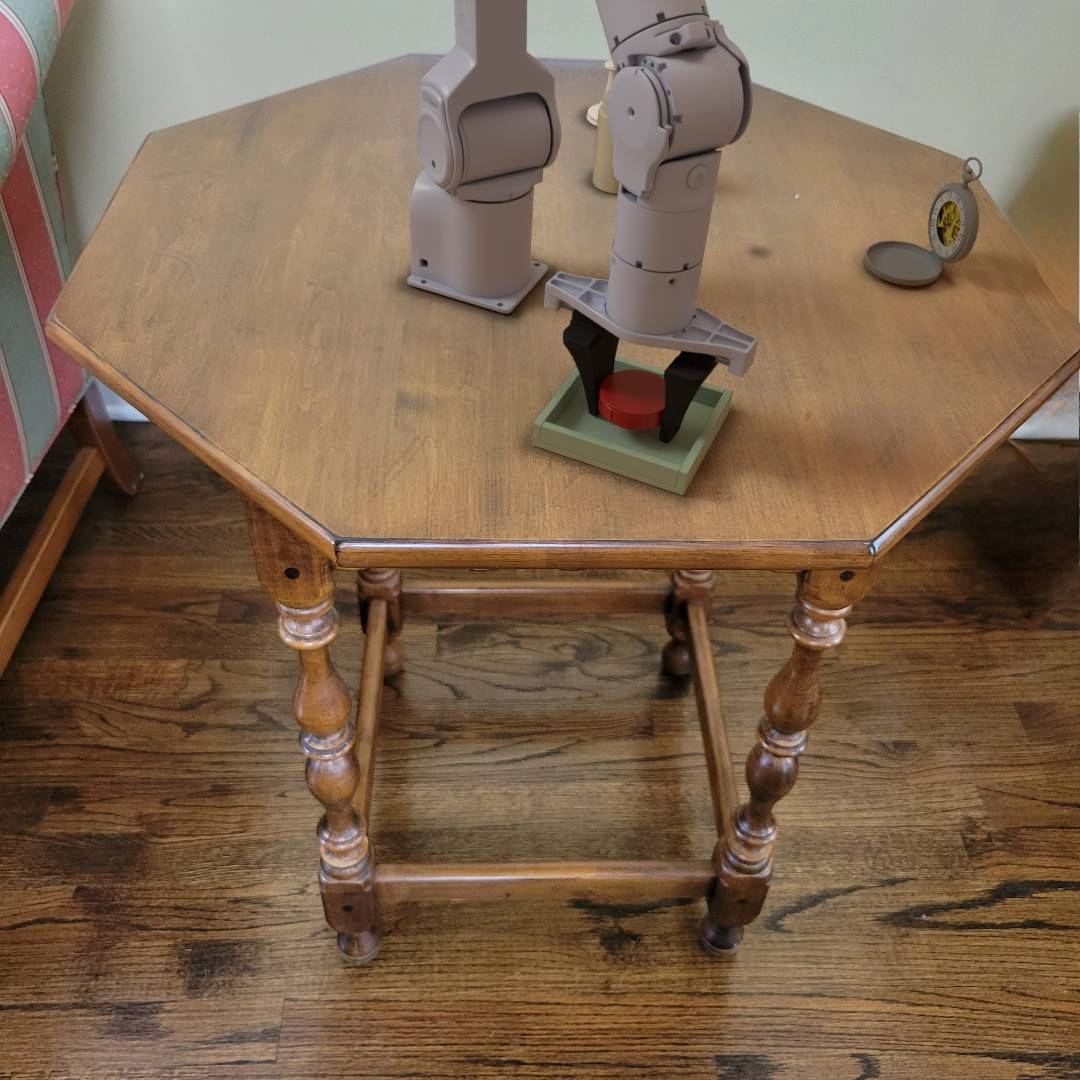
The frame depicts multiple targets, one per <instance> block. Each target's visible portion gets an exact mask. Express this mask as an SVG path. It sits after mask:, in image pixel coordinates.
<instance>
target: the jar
mask: <svg viewBox="0 0 1080 1080" xmlns="http://www.w3.org/2000/svg"><path fill="white" fill-rule="evenodd" d="M602 100H603V102H602V105H601V106H600V107H599V110H598V120H597V126H596V134H595V142H594V143H595V144H594V154H593V158H594V159H593V166H592V176H591V177H592V178H591V182H592V184H593V186H594V187H595V188H596V189H598V190H600V191H602V192H605V193H609V194H613V195H618V189H619V181H618V180H616V179H615V177H614V168H613V167H612V159H613V141H612V136H611V133H610V129H609V125H608V120H607V114H606V94H605V93H604V95H603V99H602Z"/></svg>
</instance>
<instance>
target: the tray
mask: <svg viewBox="0 0 1080 1080" xmlns="http://www.w3.org/2000/svg"><path fill="white" fill-rule="evenodd" d="M622 370H643V371H648V372H651V373H654V374H656V375H658V376H660V377H662V378H663V379H664V371H665V370H666V369H662V368H660V367H656V366H653V365H650V364H647V363H643V362H639V361H637V360H633V359H630V358H627V357H623V356H620V355H616V357H615V364H614V373H615V372H618V371H622ZM733 395H734V390H731V389H728V388H725V387H722V386H718V385H715V384H712V383H709V382H705V381H704V382H703V384H702V385H701V386H700V388H699V390H698V391H697V393H696V394H695V396H694V398H693V400H692V401H691V403H690V405H689V407H688V409H687V411H686V414H685V416H684V418H683V421H682V424H681V427H680V430H679V431H678V432H677V434H676V435H675V436H674V437H673V439H672V440H671V441H670V443H665V442H662V441H659V433H660V427H661V426H659V427H656V428H654V429H649V430H630V429H625V428H622V427H619V426H616V425H614V424H612V423H611V422H609V421H608V420H607V419H606V418H605V417H604V416H603V415H602V414H601V412H600V413H599V414H598V415H597V416H594V415H592V414H589V411H588V405H587V400H586V395H585V391H584V386H583V383H582V379H581V376H580V373H579V371H578V368H577V366H575V368H574V369H573V370H572V372H571V373H570V374H569V376H568V377H567V379H566V380H565V381H564V382H563V384H562V385H561V386H560V388H559V389H558V390H557V391H556V393H555V394H554V395H553V397H552V398H551V399H550V400H549V402H548V404H547V405H546V406H545V408H544V409H543V410H542V412H541V413H540V414H539V415H538V416H537V418H536V419H535V421H533V428H532V446H534V447H536V448H538V449H539V448H540V449H543V450H545V451H549V452H551V453H554V454H556V455H557V454H558V455H560V456H563V457H567V458H569V459H573V460H575V461H579V462H581V463H583V464H587V465H591V466H592V467H596V468H600V469H601V470H606V471H608V472H611V473H614V474H618V475H619V476H624V477H626V478H629V479H633V480H635V481H638V482H641V483H645V484H647V485H650V486H653V487H656V488H658V489H662V490H665V491H668V492H671V493H674V494H676V495H680V496H684V495H685V493H686V491H687V489H688V488H689V486H690V484H691V482H692V481H693V479H694V477H695V475H696V473H697V471H698V469H699V467H700V465H701V464H702V463H703V460H704V458H705V457H706V455H707V453H708V451H709V450H710V448H711V446H712V444H713V442H714V440H715V438H716V437H717V435H718V433H719V431H720V429H721V428H722V425H723V424H724V422H725V420H726V418H727V417H728V415H729V413H730V408H731V404H732V399H733Z"/></svg>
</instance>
